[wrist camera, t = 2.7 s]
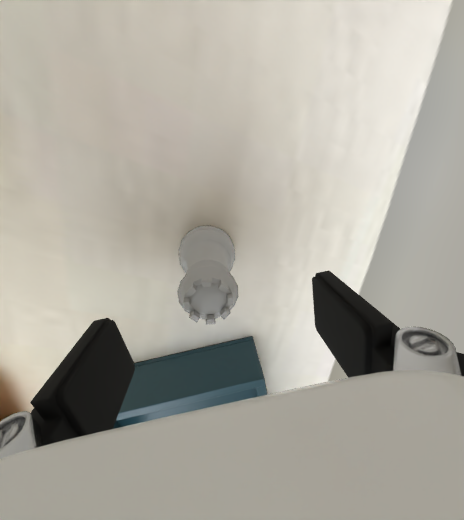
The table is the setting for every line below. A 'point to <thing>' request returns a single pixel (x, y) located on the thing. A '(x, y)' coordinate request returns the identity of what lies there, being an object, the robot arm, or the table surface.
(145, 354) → the table surface
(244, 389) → the bin
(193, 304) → the rook chess piece
